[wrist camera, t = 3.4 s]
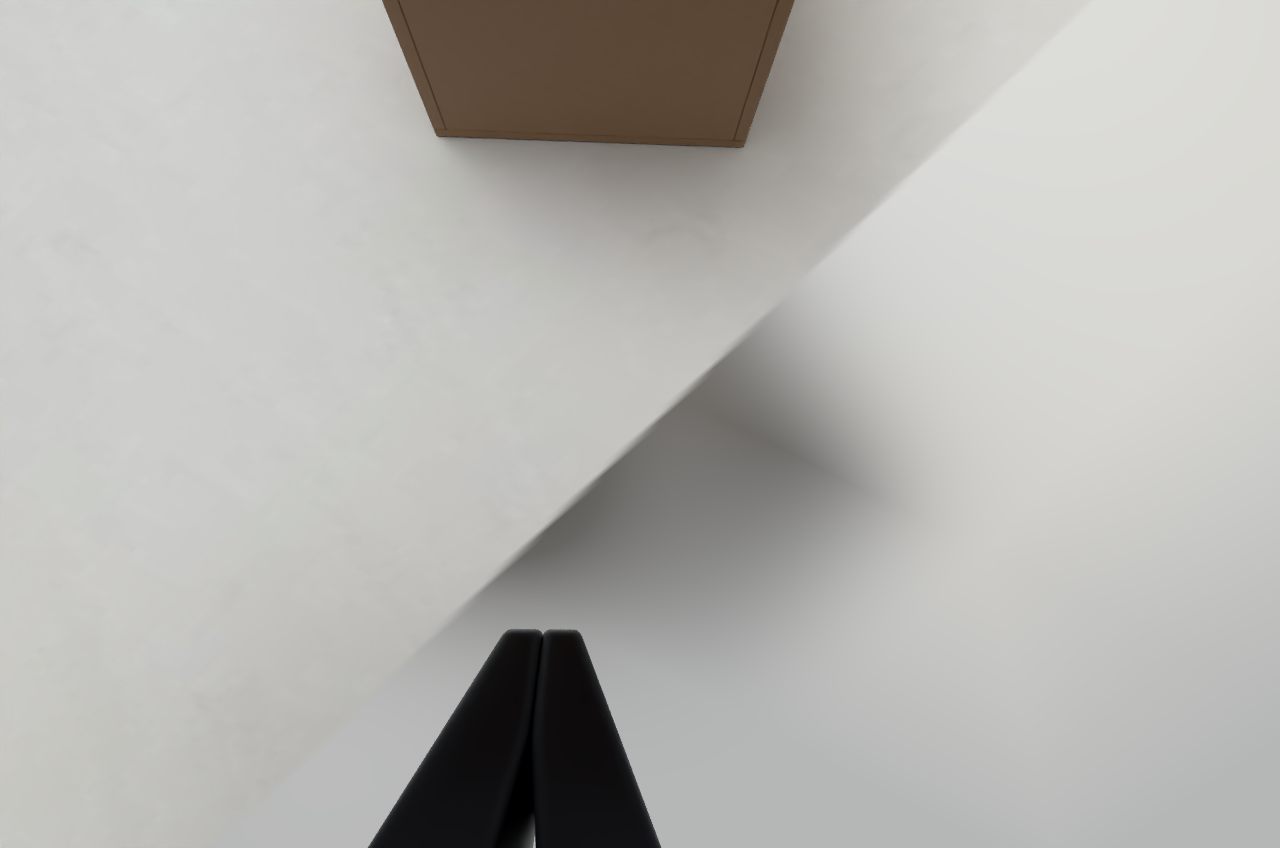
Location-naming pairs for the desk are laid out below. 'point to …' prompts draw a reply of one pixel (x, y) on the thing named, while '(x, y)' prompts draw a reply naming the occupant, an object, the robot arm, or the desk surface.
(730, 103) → the carton
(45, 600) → the desk surface
